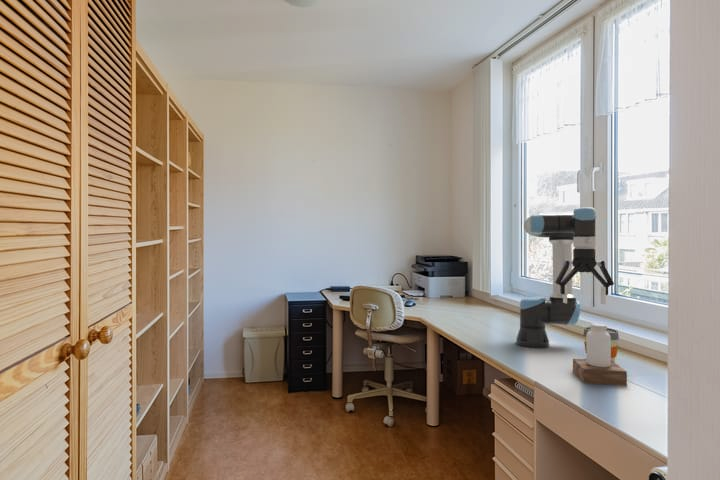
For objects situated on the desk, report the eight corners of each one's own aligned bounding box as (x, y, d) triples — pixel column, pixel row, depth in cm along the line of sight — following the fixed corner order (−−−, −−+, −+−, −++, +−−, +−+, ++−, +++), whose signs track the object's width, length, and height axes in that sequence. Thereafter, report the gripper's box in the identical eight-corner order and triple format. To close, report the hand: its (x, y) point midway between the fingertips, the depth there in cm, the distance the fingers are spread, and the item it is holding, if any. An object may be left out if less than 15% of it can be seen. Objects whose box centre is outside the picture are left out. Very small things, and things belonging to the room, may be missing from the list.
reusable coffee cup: (606, 373, 166) (606, 334, 166) (576, 364, 177) (576, 328, 177) (625, 368, 172) (625, 331, 172) (595, 360, 183) (595, 325, 183)
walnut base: (572, 371, 168) (572, 358, 168) (611, 373, 166) (611, 360, 166) (584, 383, 155) (584, 369, 155) (626, 385, 152) (626, 371, 152)
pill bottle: (608, 362, 163) (608, 323, 163) (613, 368, 155) (613, 327, 155) (584, 360, 165) (584, 322, 165) (588, 366, 158) (588, 326, 158)
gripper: (552, 248, 162) (552, 304, 163) (623, 248, 158) (623, 305, 159) (547, 247, 170) (547, 300, 170) (615, 247, 166) (615, 302, 166)
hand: (583, 303), depth 164 cm, fingers open, 13 cm apart
